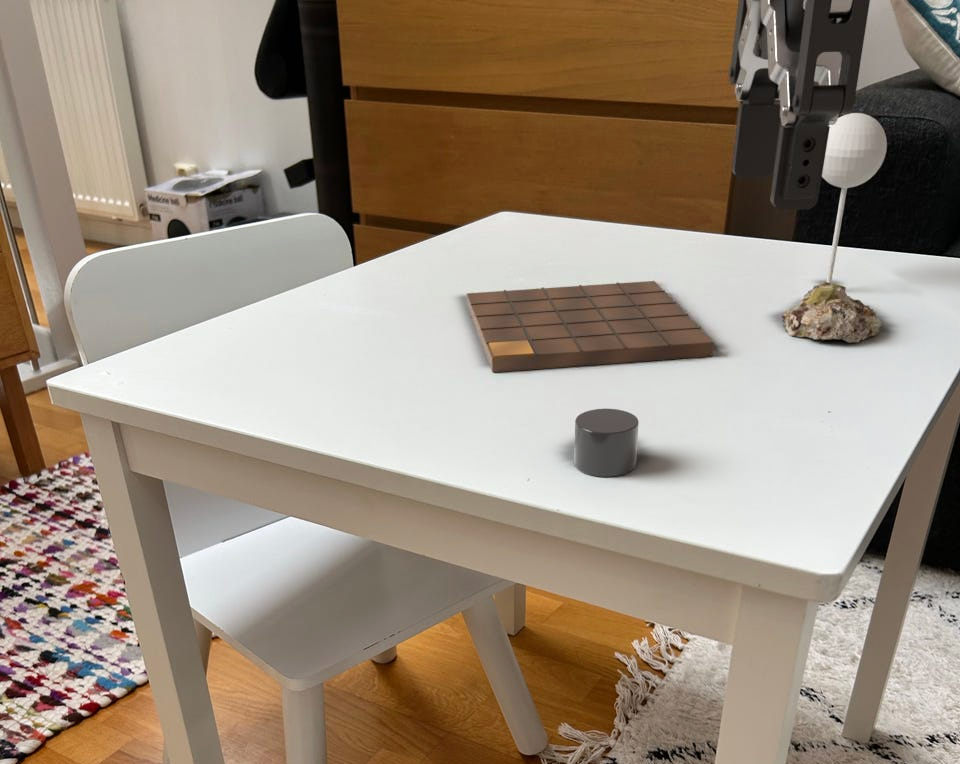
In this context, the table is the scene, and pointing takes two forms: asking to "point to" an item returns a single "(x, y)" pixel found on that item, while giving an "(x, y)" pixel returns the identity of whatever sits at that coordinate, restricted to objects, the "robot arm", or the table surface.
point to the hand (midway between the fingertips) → (770, 191)
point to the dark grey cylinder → (605, 442)
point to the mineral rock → (831, 316)
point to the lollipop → (852, 160)
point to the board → (583, 326)
